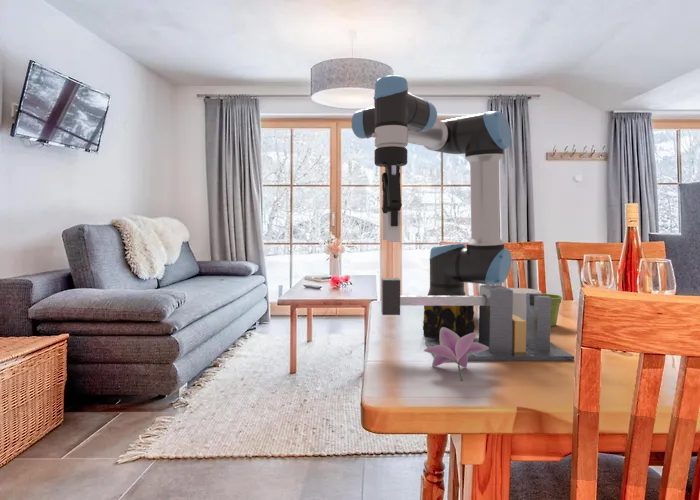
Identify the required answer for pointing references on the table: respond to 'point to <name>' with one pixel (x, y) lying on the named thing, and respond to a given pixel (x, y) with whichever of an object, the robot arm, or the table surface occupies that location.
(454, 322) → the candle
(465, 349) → the lily
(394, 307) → the shaft
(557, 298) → the plant pot
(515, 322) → the tan rectangular block
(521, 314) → the candle holder
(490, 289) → the shaft stand
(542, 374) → the table surface
